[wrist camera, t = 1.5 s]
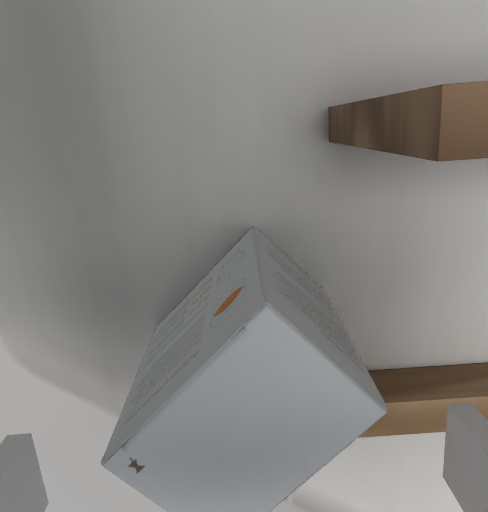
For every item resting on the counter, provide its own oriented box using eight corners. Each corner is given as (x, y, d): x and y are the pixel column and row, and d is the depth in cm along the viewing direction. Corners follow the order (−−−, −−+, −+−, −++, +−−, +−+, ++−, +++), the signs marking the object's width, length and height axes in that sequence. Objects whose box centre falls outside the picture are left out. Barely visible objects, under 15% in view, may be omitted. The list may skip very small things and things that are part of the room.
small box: (228, 384, 25) (221, 559, 15) (154, 324, 24) (92, 470, 14) (328, 290, 23) (396, 415, 13) (254, 221, 22) (267, 301, 12)
